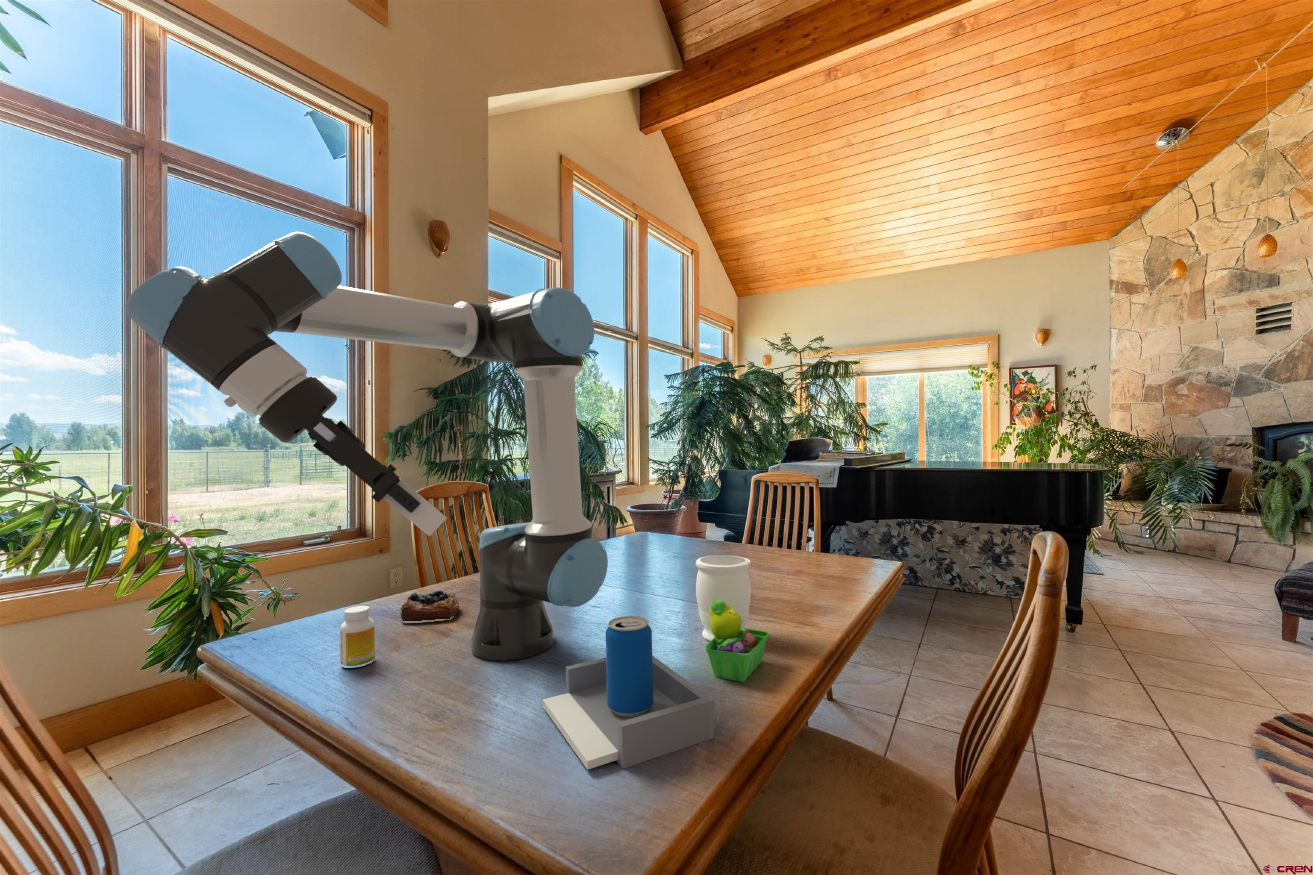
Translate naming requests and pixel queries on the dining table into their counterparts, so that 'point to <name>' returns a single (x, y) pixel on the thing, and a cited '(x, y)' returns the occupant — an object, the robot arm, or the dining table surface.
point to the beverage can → (629, 666)
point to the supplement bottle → (357, 637)
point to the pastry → (430, 606)
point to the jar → (722, 587)
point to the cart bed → (629, 740)
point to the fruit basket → (733, 644)
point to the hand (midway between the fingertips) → (431, 519)
